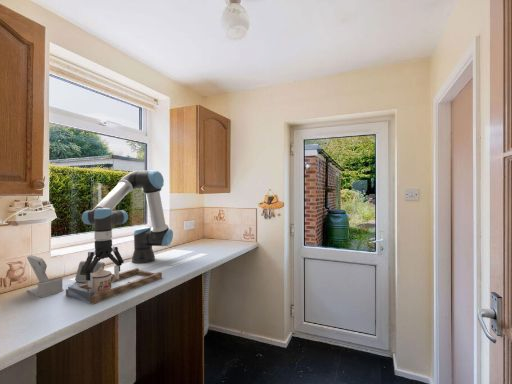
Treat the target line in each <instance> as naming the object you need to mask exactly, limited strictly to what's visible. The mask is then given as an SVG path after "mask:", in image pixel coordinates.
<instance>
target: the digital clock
mask: <svg viewBox="0 0 512 384" xmlns="http://www.w3.org/2000/svg"><path fill="white" fill-rule="evenodd" d="M85 262H86V260H81V261H80V262H79V264H78V267H77V271H76V275H75V278H74V281H75V282H76V283H82V284H85V283H88V281H87V280H86V274H85V273H81V271H82V269H83V266H84V264H85ZM91 263H92V262H91ZM105 265H106V263H105V262H103V261H101V262H100V261H98V263H97V264H96V266H95V267H94V269H93V270H92V272H91V273H94V272H96V271H98V270H99V268H103V270H105Z"/></svg>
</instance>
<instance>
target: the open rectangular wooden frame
mask: <svg viewBox="0 0 512 384" xmlns="http://www.w3.org/2000/svg"><path fill="white" fill-rule="evenodd" d="M135 275H138V276H143V277H142V278H139V279H136V280H133V281H127V283H124V284H122V285H119V286H116V287H114V288H111V289H110V290H107V291H104V292H101V293H98V294H96V295H94V291H91V287H88V283H82V284H80V285H70V286H68V288H66V289H65V296H66V297H69V298H73V299H75V300H77V301H78V300H79V301H81V302H85V303H88V304H91V305H94V304H96V303H99V302H102V301H104V300H107V299H110V298H113V297H115V296H118V295H120V294H123V293H125V292H129V291H131V290H134V289H136V288H139V287H141V286H145V285H147V284H149V283H152V282H155V281H157V280H160V279H162V278H163V272H160V271H158V272H153V271H152V272H151V271H145V270H140V268H139V267H134V268H132V269H129V270H125V271H121V272H119V279H116V278H115V280H114V282H116V281H120V280H123V279H126V278H129V277H132V276H135ZM112 279H113V276H112V275H111V281H112Z"/></svg>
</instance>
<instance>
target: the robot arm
mask: <svg viewBox="0 0 512 384" xmlns="http://www.w3.org/2000/svg"><path fill="white" fill-rule="evenodd" d="M163 187H164V176H163V174H162V173H161V172H160V171H159V170H153V169H152V170H151V169H148V170H134V171H131V172H130V173H127V174H126V175H124V176H123V177H122V178H121V179H120V180H119V181H118V182H117V185H116V186H115V187H114V188H112V190H111V191H110V192H108V194H107V195H106V196H105V197H104V198H103V199H101V200H100V202H99V203H98V204H97V205H96V206H95V207H94V208H93V209H92V210H90V209H89V210H85V211H84V212H83V213H82V215H81V221H82V222H83V224H85V225H89V226H94V251H88V252H87V257H86V260H85V261H86V262H85V264H84V266H83V269H82V271H81V273H85V274H86V280H87V281H88V287H93V273H91V272H92V270H93V269H94V267H95V266H96V264H97V263H98V262H100V260H104V259H110V260H111V261H112V263H114V264H115V265H114V266H113V269H114V270H113V272H114V273H113V274H114V275H115V278H116V279H119V273H120V272H121V266H122V265H123V264H124V262H125V261H124V259H123V257H122V256H121V255H122V254H120V252H119V248H118V246H113V239H112V238H113V226H119V225H123V224H125V223H127V222H128V220H129V214H128V212H127V211H125V210H121V209H118V210H114V209H115V208H116V206H117V205H118V204H119V203H120V202H121V201H122V199H124V198H125V196H127V195H128V194H129V193H131V192H132V191H134V190H136V189H141V190H142V193H143V194H145V196H146V197H145V198H146V201H147V202H146V203H147V207H148V212H149V215H150V216H149V217H150V222H151V226H147V227H141V228H136V229H135V230H134V233H133V243H134V245H133V247H134V248H133V249H134V250H133V252H132V253H133V254H132V257H131V262H132V263H135V264H144V263H145V264H146V263H151V262H154V261H155V260H156V255H155V254H154V250H153V247H168V246H170V244H171V243H172V241H173V238H174V232H173V230H172V229H171V228H169V225H168V224H166V220H165V219H166V218H165V215H164V214H165V213H164V209H163V203H162V198H161V191H162V188H163ZM112 252H113V254H112ZM91 262H92V263H91Z"/></svg>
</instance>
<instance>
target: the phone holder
mask: <svg viewBox="0 0 512 384" xmlns="http://www.w3.org/2000/svg"><path fill="white" fill-rule="evenodd" d="M26 259H27V260H28V263H29V264H30V267H31V269H32V270H33V272H34V274H35V276H36V279H37V280H38V283H37V286H34V287H30V288H27V290H26V291H27V292H28V291H29V292H28V293H30V292H31V294H32V293H33V294H32V295H34V294H35V295H34V296H37V298H45V297H48V296H51V295H54V294H57V293H59V294H60V293H61V292H64V288H63V277H61V276H60V277H54V278H48V275H47V273H46V271H47V267H48V266H47V263H46V261H45V260H44V259H43V258H42V257H38V256H37V255H32V254H30V255H28V256H27V257H26Z"/></svg>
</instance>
